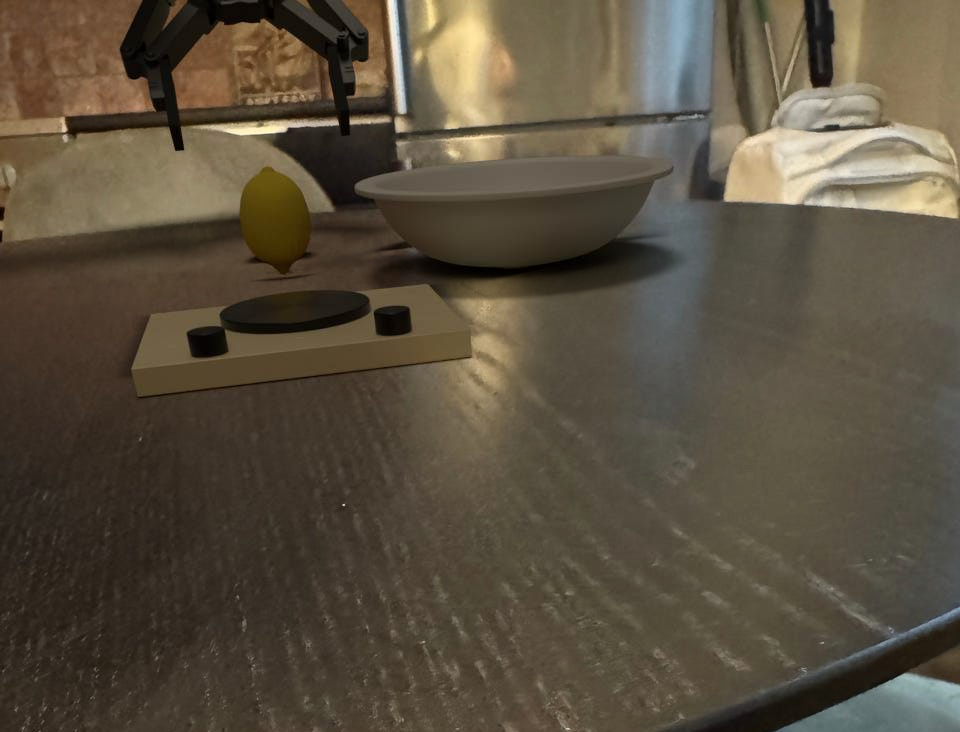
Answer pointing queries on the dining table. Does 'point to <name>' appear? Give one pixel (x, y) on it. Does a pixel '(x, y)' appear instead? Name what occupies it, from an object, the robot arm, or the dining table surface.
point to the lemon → (275, 219)
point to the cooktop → (296, 338)
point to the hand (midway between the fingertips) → (262, 131)
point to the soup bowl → (515, 206)
